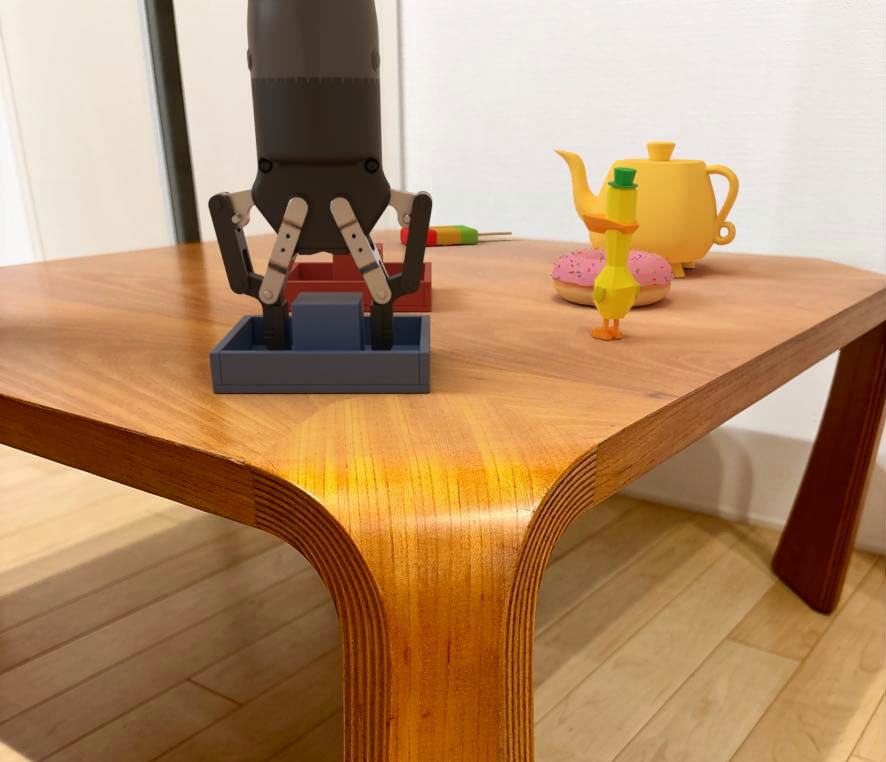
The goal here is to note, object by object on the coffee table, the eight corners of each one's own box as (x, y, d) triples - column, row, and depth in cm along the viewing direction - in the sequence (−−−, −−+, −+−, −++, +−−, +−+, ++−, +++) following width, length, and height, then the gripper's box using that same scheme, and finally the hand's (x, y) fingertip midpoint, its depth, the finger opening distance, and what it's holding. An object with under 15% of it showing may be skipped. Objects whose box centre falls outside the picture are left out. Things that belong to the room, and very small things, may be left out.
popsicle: (397, 242, 120) (397, 227, 119) (503, 237, 124) (503, 223, 123) (410, 247, 115) (410, 232, 114) (519, 242, 119) (520, 227, 119)
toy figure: (561, 329, 72) (570, 165, 67) (598, 325, 73) (610, 164, 68) (612, 347, 66) (627, 170, 61) (651, 342, 68) (668, 168, 63)
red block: (334, 298, 81) (332, 249, 79) (339, 289, 85) (336, 242, 83) (381, 298, 81) (380, 249, 79) (384, 289, 85) (382, 242, 83)
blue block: (295, 370, 59) (290, 304, 57) (303, 354, 62) (299, 292, 61) (360, 370, 59) (358, 304, 57) (365, 354, 62) (363, 292, 61)
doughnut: (566, 285, 90) (569, 241, 88) (679, 293, 86) (684, 247, 85) (536, 305, 81) (538, 256, 79) (661, 314, 77) (666, 263, 75)
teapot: (720, 284, 90) (738, 144, 85) (529, 271, 98) (534, 142, 92) (739, 265, 102) (755, 140, 96) (566, 255, 109) (573, 138, 104)
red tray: (277, 311, 78) (275, 281, 77) (295, 288, 88) (293, 261, 87) (431, 311, 78) (431, 281, 77) (431, 288, 88) (431, 261, 87)
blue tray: (213, 393, 56) (208, 352, 55) (247, 349, 66) (244, 314, 65) (429, 393, 56) (429, 352, 55) (430, 349, 66) (430, 314, 65)
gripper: (438, 75, 57) (439, 346, 64) (206, 75, 57) (233, 346, 64) (439, 70, 50) (439, 374, 57) (175, 70, 50) (209, 374, 57)
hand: (330, 358), depth 60 cm, fingers open, 5 cm apart
